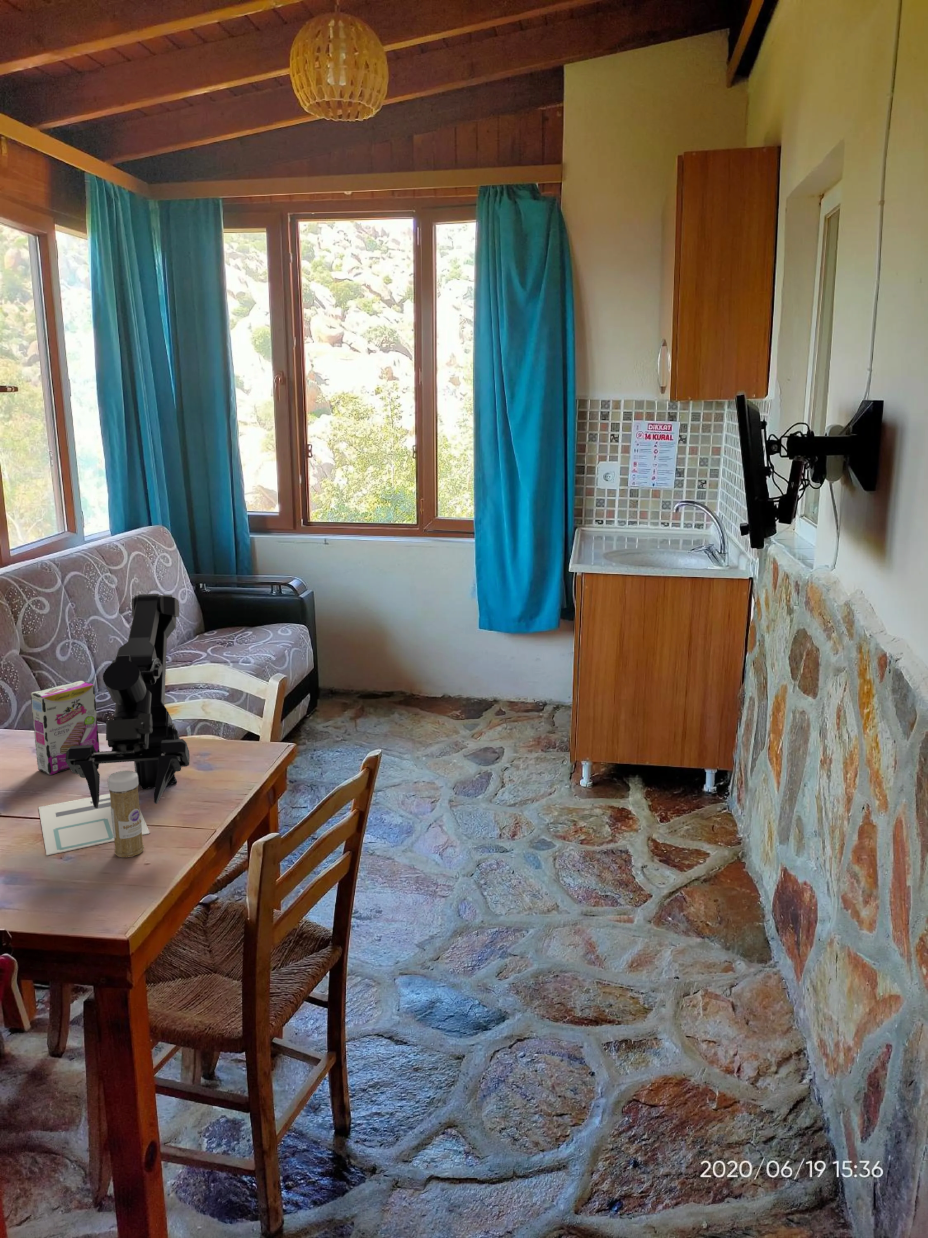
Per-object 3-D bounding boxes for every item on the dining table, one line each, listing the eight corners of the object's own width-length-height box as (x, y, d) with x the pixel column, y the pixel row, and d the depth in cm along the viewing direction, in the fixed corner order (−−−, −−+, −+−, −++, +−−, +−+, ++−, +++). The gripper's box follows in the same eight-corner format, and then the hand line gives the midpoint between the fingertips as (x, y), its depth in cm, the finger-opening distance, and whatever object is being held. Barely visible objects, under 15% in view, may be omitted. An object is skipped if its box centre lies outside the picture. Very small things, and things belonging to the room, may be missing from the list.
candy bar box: (50, 776, 171) (41, 697, 168) (37, 770, 174) (28, 692, 170) (102, 759, 180) (95, 683, 176) (88, 753, 183) (81, 679, 179)
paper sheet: (131, 790, 165) (131, 789, 165) (149, 833, 148) (149, 832, 148) (38, 807, 158) (38, 806, 158) (46, 855, 141) (46, 854, 141)
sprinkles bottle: (133, 860, 139) (126, 782, 136) (108, 857, 140) (101, 779, 137) (150, 846, 144) (143, 771, 141) (125, 843, 145) (118, 768, 142)
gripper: (62, 699, 140) (51, 791, 132) (182, 693, 144) (179, 782, 135) (78, 729, 149) (68, 816, 141) (191, 722, 153) (188, 807, 145)
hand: (125, 805), depth 140 cm, fingers open, 9 cm apart
